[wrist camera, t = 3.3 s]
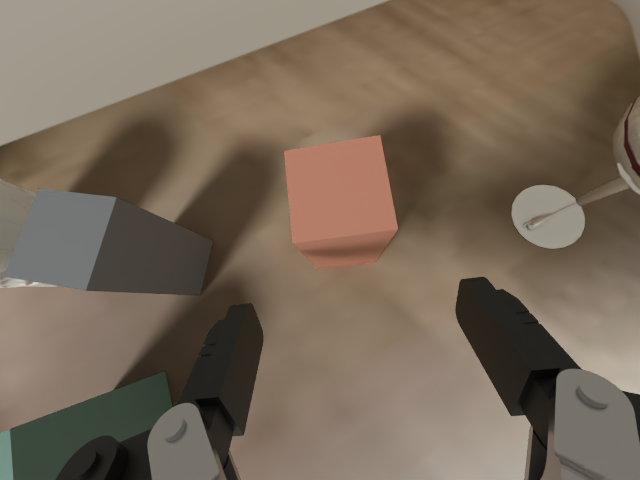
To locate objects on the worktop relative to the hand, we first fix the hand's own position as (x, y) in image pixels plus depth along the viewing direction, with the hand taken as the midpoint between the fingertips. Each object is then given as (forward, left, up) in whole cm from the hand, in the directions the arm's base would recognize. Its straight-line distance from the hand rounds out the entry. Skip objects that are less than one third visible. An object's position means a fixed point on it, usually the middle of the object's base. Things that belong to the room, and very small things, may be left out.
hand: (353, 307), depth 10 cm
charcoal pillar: (-14, -1, -10) cm, 17 cm away
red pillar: (-2, +5, -10) cm, 11 cm away
